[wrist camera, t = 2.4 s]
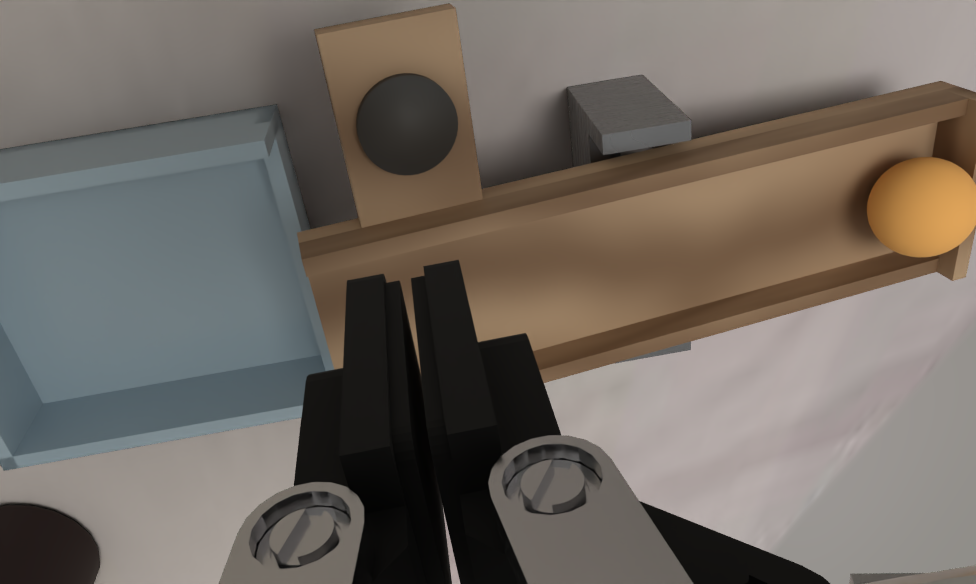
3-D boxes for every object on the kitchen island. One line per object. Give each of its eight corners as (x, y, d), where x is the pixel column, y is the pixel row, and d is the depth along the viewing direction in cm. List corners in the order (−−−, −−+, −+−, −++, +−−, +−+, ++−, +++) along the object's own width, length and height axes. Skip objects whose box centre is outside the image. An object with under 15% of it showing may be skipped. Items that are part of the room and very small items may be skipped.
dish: (-91, 164, 30) (-152, 208, 26) (276, 104, 30) (264, 140, 27) (39, 408, 35) (3, 470, 32) (344, 354, 36) (341, 410, 33)
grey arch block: (566, 87, 31) (602, 135, 26) (642, 74, 31) (691, 120, 26) (583, 291, 36) (615, 363, 31) (648, 279, 36) (690, 349, 31)
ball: (850, 156, 29) (927, 191, 26) (931, 134, 30) (1015, 165, 27) (840, 244, 31) (911, 285, 28) (917, 220, 32) (994, 258, 29)
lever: (242, 34, 23) (245, 66, 20) (945, -99, 28) (1042, -92, 24) (341, 388, 30) (355, 454, 27) (894, 237, 34) (965, 279, 31)
